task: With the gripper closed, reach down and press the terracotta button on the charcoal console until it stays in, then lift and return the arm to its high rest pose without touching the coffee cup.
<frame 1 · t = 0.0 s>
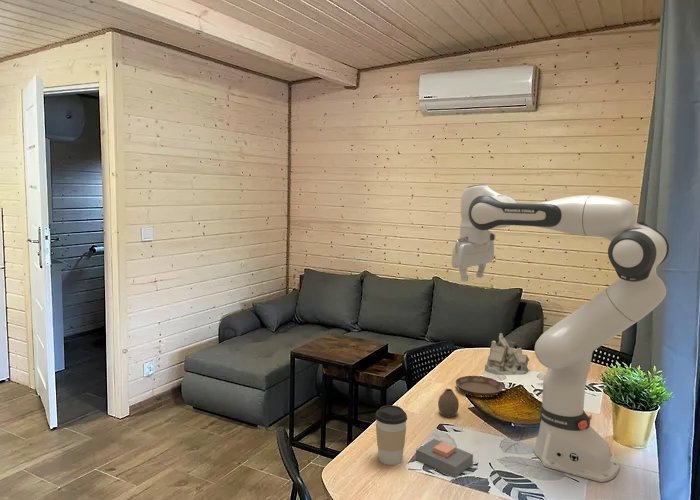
hand: (472, 279, 165), 48 cm above the table, tool pointing down, fingers open, 8 cm apart
vase: (448, 415, 176), on the table
button: (444, 452, 145), point 3 cm above the table, slide at 0.0 cm
ceramic cottage: (505, 370, 219), on the table
coffee cup: (390, 459, 147), on the table
plant saucer: (478, 391, 197), on the table
console: (444, 462, 146), on the table
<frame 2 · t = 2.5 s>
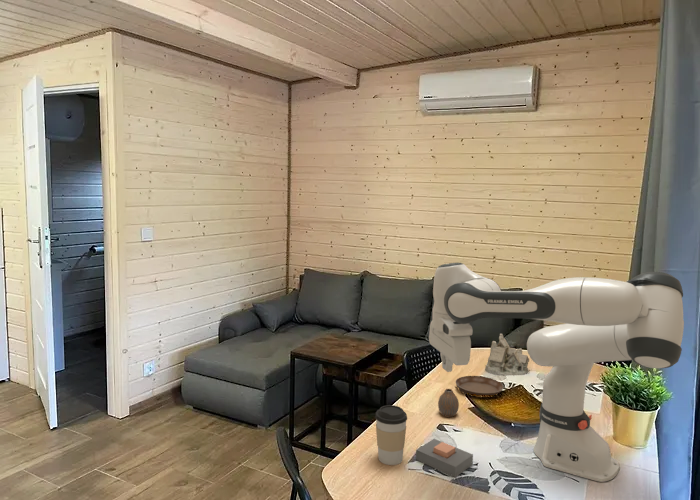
hand: (447, 370, 142), 27 cm above the table, tool pointing down, fingers closed
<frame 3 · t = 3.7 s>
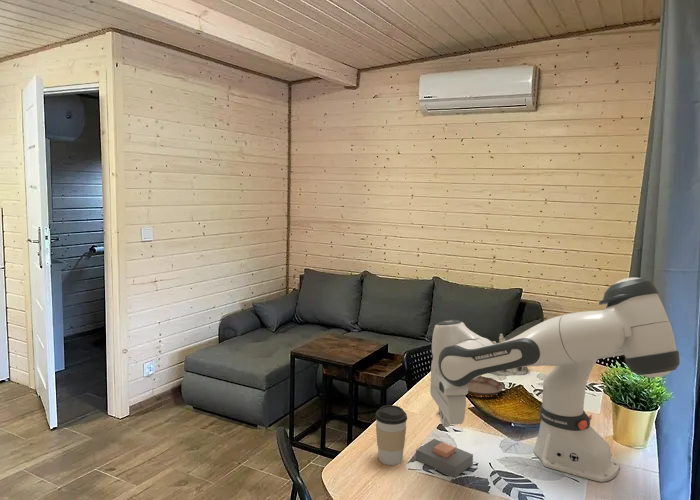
hand: (445, 424, 144), 11 cm above the table, tool pointing down, fingers closed
nothing on the table moved.
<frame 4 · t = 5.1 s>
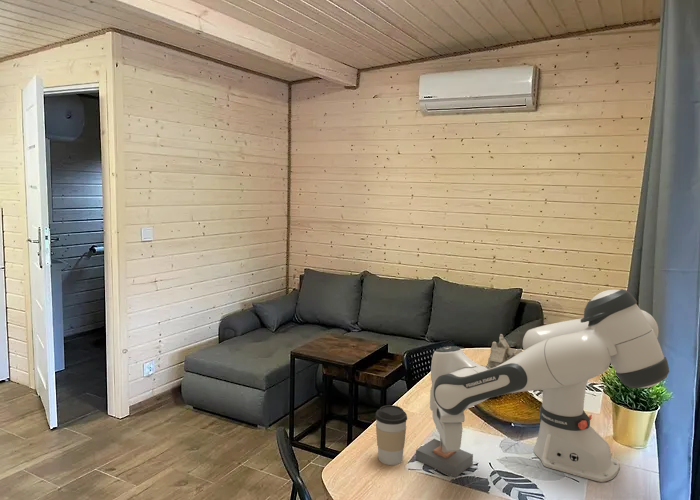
hand: (444, 450, 145), 4 cm above the table, tool pointing down, fingers closed, pressing on button
button: (444, 455, 145), point 2 cm above the table, slide at 0.8 cm, touching gripper
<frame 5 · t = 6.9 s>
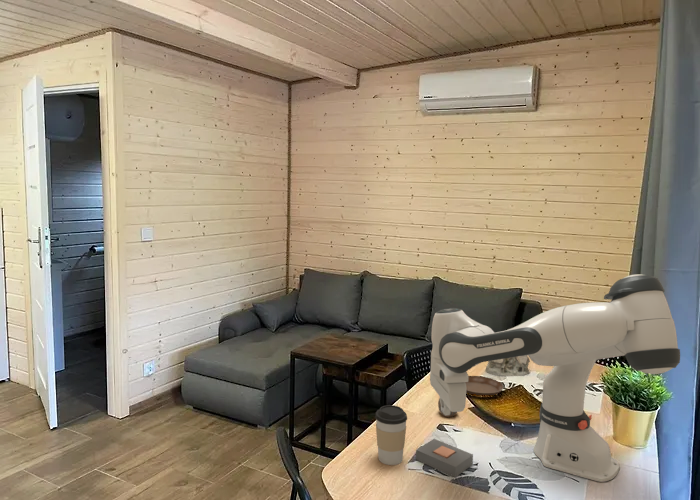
hand: (445, 413, 144), 14 cm above the table, tool pointing down, fingers closed
button: (444, 456, 145), point 2 cm above the table, slide at 1.1 cm
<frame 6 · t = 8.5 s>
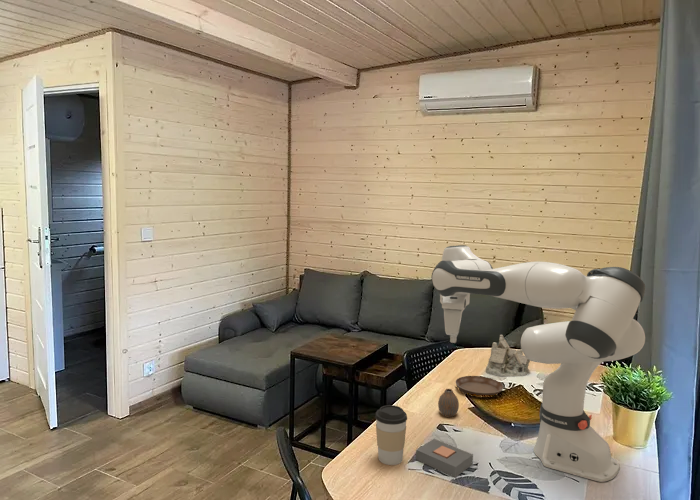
hand: (453, 341, 159), 30 cm above the table, tool pointing down, fingers closed
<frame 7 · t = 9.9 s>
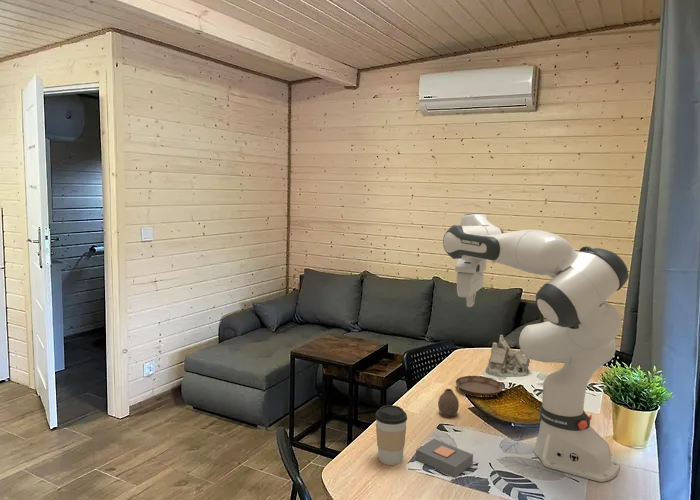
hand: (470, 306, 166), 39 cm above the table, tool pointing down, fingers closed
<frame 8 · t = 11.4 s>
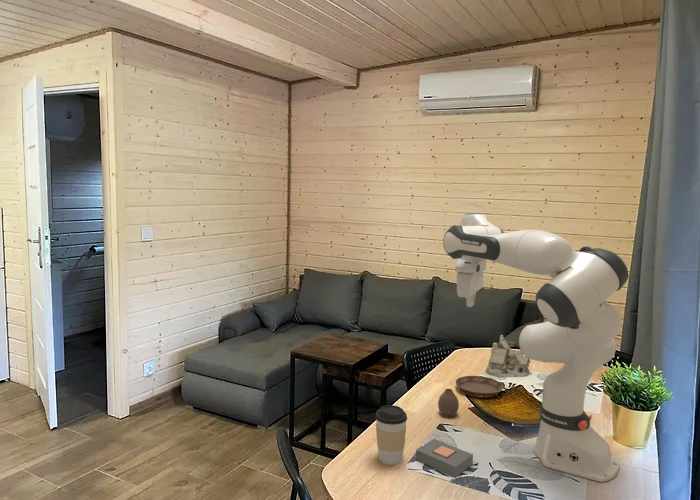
hand: (470, 306, 166), 39 cm above the table, tool pointing down, fingers closed
at the end: button slide at 1.1 cm; coffee cup moved 0.2 cm from its start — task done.
